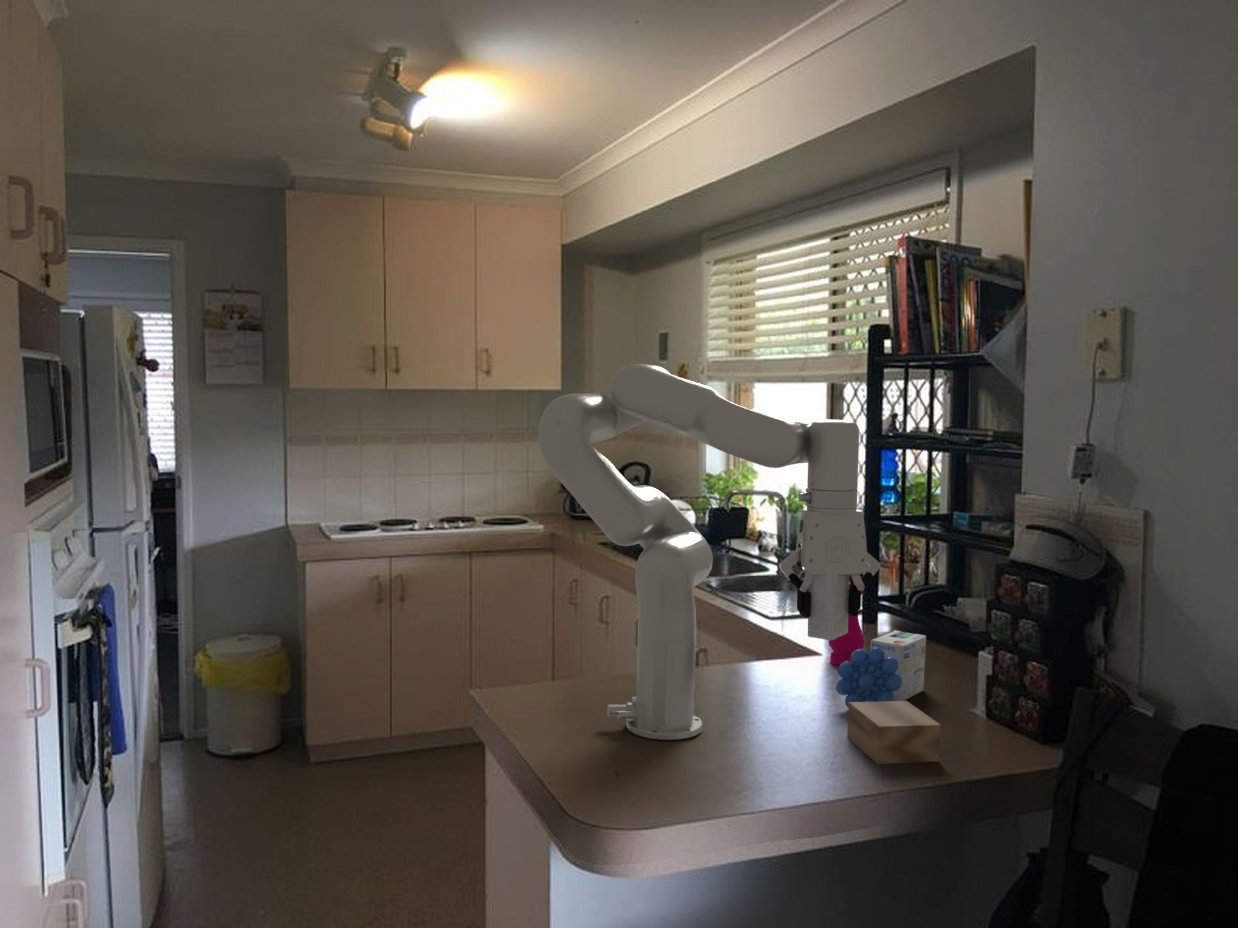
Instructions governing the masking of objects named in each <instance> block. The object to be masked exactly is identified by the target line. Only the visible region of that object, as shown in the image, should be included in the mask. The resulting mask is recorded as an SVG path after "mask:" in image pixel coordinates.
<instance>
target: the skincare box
mask: <svg viewBox="0 0 1238 928" xmlns="http://www.w3.org/2000/svg"><path fill="white" fill-rule="evenodd" d="M836 563H837V562H828V563H827V575H825V576H815V577H814V578H813V580H812V582H811V584H810V586H809V588H808V591H809V592H810V593H811V615H810V617H809V618H807V636H808V637H809V638H814V639H820V640H825V641H829V640H834V639H836V638H838V637H840V636H842V635H844V634H846V633H848V607H849V606H848V605H849V576H837V575H836Z"/></svg>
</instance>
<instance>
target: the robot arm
mask: <svg viewBox="0 0 1238 928" xmlns="http://www.w3.org/2000/svg"><path fill="white" fill-rule="evenodd" d="M646 422H647V423H651V424H654V425H657V426H659V427H663V428H665V429H668V430H670V431H674V432H676V433H679V434H681V435H684V436H686V437H690V438H692V439H694V440H696V441H697V442H700V443H702V444H704V445H708V446H710V447H712V448H714V449H716V450H718V451H721V452H724V453H726V454H728V455H731V456H733V457H737V458H740V459H742V460H744V461H747V462H750V463H753V464H756V465H759V466H762V467H766V468H770V469H777V468H778V469H780V468H784V467H786V466H792V465H797V464H806V463H807V488H805V491H804V492H799V493H798V497H797V498H798V502H800V503H805V506H806V508H804V507H803V508H802V510H801V516H800V519H799V525H798V530H797V535H796V536H797V537H796V548H795V550H793V551H792V552H791V553H790V554H789V555H788V556H787V557H785V558H784V559H783V560H782V561H780V562H779V564H778V568H779V570H780V571H781V572H782V573H783V575H784V576H785V577H786V579H787V580H788V581H789V582H790V583H791V585H793V586H794V588H795V589H796V610H797V611H798V613H799V615H801V616H802V618H805V619H808V618H809V617H810V615H811V593H810V592H809V586H810V584H811V582H812V580H813V578H814V577H815V576H825V575H827V563H828V562H837V563H836V575H837V576H849V583H850V587H849V605H848V606H849V607H848V613H849V614H850V615H852V616H854V617H855V616H858V617H859V611H860V610H861V606H862V605H861V603H862V602H861V601H862V595H861V591H862V590H863V589H864V590H865V586H867V584H869V582H870V581H871V580H872V579H873V576H874V575H875V574H877V572H878V571H879V570H880V568H881V563H880V562H879V561H878V560H877V559H876V558H875V557H874V556H872V555H871V554H870V553H869V552H868V548H867V547H868V546H867V537H866V536H867V535H866V533H867V532H866V526H865V519H864V514H863V510H862V509H858V487H859V486H858V485H859V484H858V483H859V480H858V477H859V475H858V474H859V454H860V453H859V449H860V447H859V446H860V429H859V426H858V424H857V423H856V422H854V421H852V420H848V419H847V420H846V419H845V420H844V419H818V420H810V419H804V418H798V417H792V416H784V417H782V416H781V417H775V416H771V415H768V414H764V413H762V412H758V411H755V410H753V409H750V408H747V407H744V406H741V405H739V404H736V403H734V402H731V401H730V400H728V399H726V398H724V397H723V396H721V395H720V394H719V392H718V391H717V390H715V389H714V388H712V387H710V386H708V385H706V384H705V385H704V384H701V383H699V382H698V383H697V382H695V381H692V380H689V379H685V378H683V377H680V376H677V375H675V374H671V373H670V372H669V371H668V370H666V369H665V368H664V367H661V366H659V365H655V364H646V363H632V364H627V365H625V366H622V367H621V368H620V369H618V371H616V372H615V374H614V375H613V376H612V379H611V381H610V384H609V385H608V386H606V387H604V388H602V389H600V390H598V391H596V392H591V393H590V392H589V393H580V392H579V393H569V394H568V393H567V394H564V395H561V396H558V397H557V398H555V399H553V400H552V401H550V403H548V405H547V406H546V407H545V409H544V410H543V413H542V415H541V417H540V420H539V425H538V432H537V433H538V435H537V436H538V437H537V439H538V444H539V445H538V446H539V450H540V453H541V455H542V458H543V460H544V462H545V463H546V465H547V467H548V469H549V470H550V471H551V472H552V474H553V475H554V477H556V479H557V481H559V482H560V483H561V484H562V485H563V486H564V488H565V489H566V490H567V491H568V492H569V493H570V494H571V496H572V497H573V498H574V499H575V500H576V502H577V503H578V504H579V505H580V506H581V508H582V509H583V510H584V512H585V513H586V514H587V515H588V516H589V518H590V519H592V521H593V522H594V523H595V524H596V525H597V526H598V528H599V529H600V531H602V533H603V534H604V535H605V536H606V537H607V538H608V539H609V540H610V541H611V542H612V543H614V544H616V545H619V546H623V547H630V546H634V545H637V544H639V545H640V547H642V549H643V550H642V551H641V553H640V555H639V556H638V559H637V562H636V565H635V578H634V580H635V589H636V596H637V597H636V598H637V656H636V657H637V658H636V661H637V662H636V688H635V689H636V693H635V694H636V696H632V697H631V701H627V702H626V703H625V704H619V703H616V704H614V703H611V704H607V708H606V712H607V717H617V720H626V722H625V725H626V726H625V727H626V729H627V730H628V731H630V733H633V734H635V735H636V736H639V737H643V738H645V739H646V738H647V739H653V740H660V741H673V740H674V741H676V740H684V739H690V738H693V737H696V736H698V735H699V734H700V733H702V731H703V726H704V724H703V721H702V720H701V718H700V717H698V716H696V715H695V714H694V710H695V709H694V708H695V678H696V677H695V675H696V649H697V648H696V647H697V646H696V644H697V643H696V642H697V614H696V613H697V610H696V602H695V592H694V589H695V587H696V586H697V585H699V584H701V583H702V582H703V581H705V579H706V578H707V577H709V575H710V573H711V571H712V569H713V563H714V562H713V561H714V557H713V552H712V549H711V547H710V544H709V543H708V541H707V540H706V538H705V537H704V536H703V535H702V534H701V532H699V529H697V528H696V527H695V525H693V523H692V522H691V521H690V520H689V519H688V518H687V517H686V515H684V514H683V512H682V511H681V510H680V509H679V508H678V506H677V505H676V504H675V503H674V502H673V501H672V500H671V499H670V498H669V497H668V496H667V495H666V494H665V493H663V492H662V491H660V490H659V489H657V488H655V487H653V486H650V485H643V484H640V485H639V484H638V485H633V484H632V483H630V482H629V481H628V480H627V479H626V478H625V477H624V476H623V475H622V473H621V472H620V471H619V470H618V469H617V468H616V467H615V465H614V464H613V463H612V462H611V461H610V460H609V459H608V458H607V457H606V456H604V455H603V454H602V453H600V452H599V450H597V448H595V447H594V446H593V443H599V442H603V441H605V440H609V439H611V438H613V437H616V436H618V435H621V434H623V433H624V432H626V431H628V430H630V429H632V428H634V427H636V426H639V425H641V424H644V423H646ZM794 565H795V566H796V568H797V570H798V571H800V573H799V574H798V575H797V574H796V572H794V570H793V566H794Z"/></svg>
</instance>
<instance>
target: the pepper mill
mask: <svg viewBox="0 0 1238 928" xmlns="http://www.w3.org/2000/svg"><path fill="white" fill-rule="evenodd" d="M849 587H850V583H849ZM864 591H865V588H864V589H863V590H862V591H861V596H862V595H864ZM828 646H829V647H830V648H831V650H832V652H831V653H830V657H829V659H830V660H829V661H830V663H831V664H833V665H835V666H838V667H839V666H840V665H841V664H842V663H843V662H846V661H848V662H851V654H852V653H853V652H854V651H855V650H857V649H862V650H864V648H865V637H864V633H863V630H862V628H861V625H860V623H859V615H858V616H855V617H854V616H852V615H850V614H849V613H848V633H846V634H844V635H842V636H840V637H838V638H836V639H834V640H828Z"/></svg>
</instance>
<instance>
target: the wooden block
mask: <svg viewBox="0 0 1238 928" xmlns="http://www.w3.org/2000/svg"><path fill="white" fill-rule="evenodd" d="M847 713H848V714H847V715H848V716H847V733H846V734H847V735H846V737H847V739H849V740H850V741H851V743H853V744H855V745H856V746H857V747H858V748H859V749H860V750H861V751H862V752H863V753H865V754H866V755H867V756H868V757H869V758H870V759H871V760H873V762H875V763H876V764H877V765H881V764H883V765H884V764H905V763H906V764H907V763H909V764H910V763H913V764H914V763H931V762H932V763H936V762H939V761H940V748H941V747H940V745H941V729H942V728H941V726H942V724H940V723H939V722H938V721H936V720H935V719H933V718H932V717H931V716H929V715H927V714H926V713H925V712H923V711H922V710H920V709H919V708H918V707H916V706H915V705H914V704H912V703H910V702H909V701H907V700H904V701H879V702H849V708H848V712H847Z"/></svg>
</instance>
